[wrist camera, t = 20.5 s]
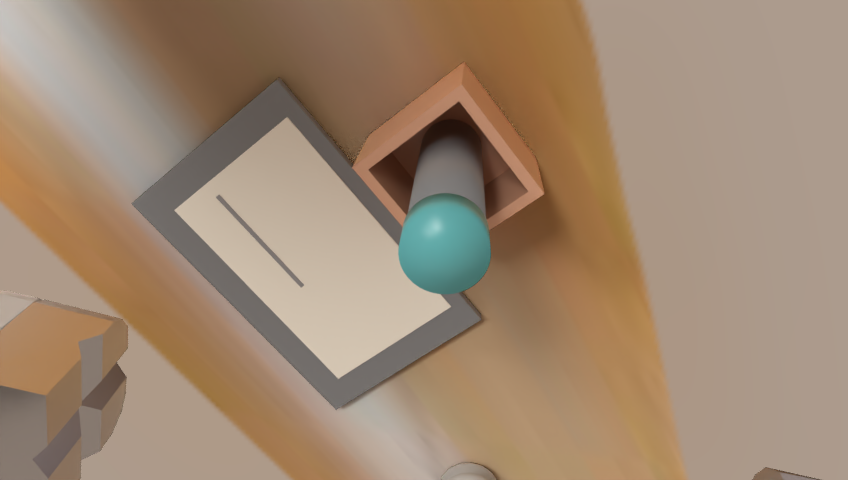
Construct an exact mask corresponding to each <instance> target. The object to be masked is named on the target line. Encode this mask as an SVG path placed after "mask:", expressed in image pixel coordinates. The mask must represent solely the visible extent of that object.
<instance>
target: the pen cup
mask: <svg viewBox="0 0 848 480" xmlns="http://www.w3.org/2000/svg"><path fill="white" fill-rule="evenodd" d="M450 119H453V120H459V121H462V122H465V123H467V124H468V125H470V126H471V127H472V128H473V129H474V130H475V131H476V133H477V134H478V136H479V138H480V141H481V148H482V164H483V179H484V194H485V209H486V219H487V222H488V226H489V231H490V230H491V229H493V228H494V227H496V226H497V225H499V224H500V223H502V222H503V221H505V220H506V219H508V218H509V217H511V216H512V215H514V214H515V213H517V212H518V211H520V210H521V209H523V208H524V207H526V206H527V205H529V204H530V203H532V202H533V201H535V200H536V199H538V198H539V197H541V196H542V195H544V189H543V185H542V181H541V176H540V172H539V168H538V164H537V159H536V157H535V156H534V154H533V153H532V152H531V150H530V149H529V148H528V146H527V145H526V144H525V142H524V141H523V140H522V138H521V137H520V136H519V134H518V133H517V132H516V130H515V129H514V128H513V126H512V125H511V124H510V122H509V121H508V120H507V118H506V117H505V116H504V114H503V113H502V112H501V110H500V109H499V108H498V106H497V105H496V103H495V102H494V101H493V99H492V98H491V97H490V95H489V94H488V93H487V91H486V90H485V89H484V87H483V86H482V85H481V83H480V82H479V81H478V79H477V78H476V77H475V75H474V74H473V73H472V71H471V70H470V69H469V67H468V66H467V65H466V63H465V62H463V63H462V64H460V65H459V66H458V67H456V68H455V69H454V70H453V71H451V72H450V73H449V74H447V75H446V76H445V77H444V78H442V79H441V80H440V81H438V82H437V83H436V84H434V85H433V86H432V87H431V88H429V89H428V90H427V91H425V92H424V93H423V94H422V95H420V96H419V97H418V98H416V99H415V100H414V101H413V102H411V103H410V104H409V105H407V106H406V107H405V108H403V109H402V110H401V111H400V112H398V113H397V114H396V115H394V116H393V117H392V118H391V119H389V120H388V121H387V122H385V123H384V124H383V125H382V126H380V127H379V128H378V129H376V130H375V131H374V132H372V133H371V134H370V135H369V136H368V138H367V140H366V142H365V144H364V146H363V147H362V149H361V151H360V153H359V155H358V157H357V159H356V161H355V163H354V165H353V167H352V168H353V169H354V171H355V172H356V173H357V174H358V175H359V176H360V178H361V179H362V180H363V181H364V182H365V184H366V185H367V186H368V187H369V188H370V189H371V191H372V192H373V193H374V194H375V195H376V196H377V198H378V199H379V200H380V201H381V202H382V203H383V205H384V206H385V207H386V208H387V209H388V211H389V212H390V213H391V214H392V215H393V216H394V218H395V219H396V220H397V221H398V222H399V223H400V225H401V226H402V227H403V223H404V220H405V217H406V216H407V214H408V209H409V204H410V199H411V194H412V189H413V184H414V179H415V174H416V168H417V163H418V158H419V153H420V148H421V143H422V139H423V137H424V135H425V133H426V132H427V130H428V129H429V128H430V127H431V126H433V125H434V124H436V123H438V122H440V121H443V120H450Z"/></svg>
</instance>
